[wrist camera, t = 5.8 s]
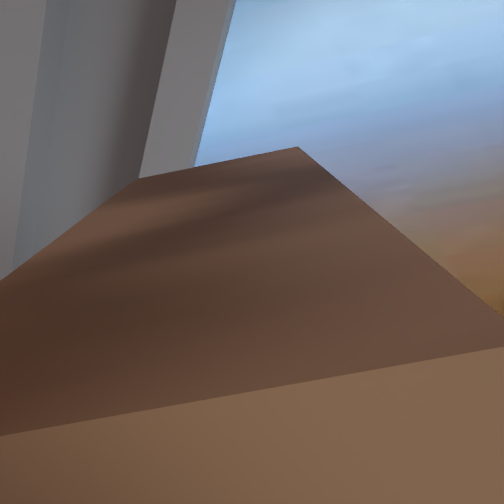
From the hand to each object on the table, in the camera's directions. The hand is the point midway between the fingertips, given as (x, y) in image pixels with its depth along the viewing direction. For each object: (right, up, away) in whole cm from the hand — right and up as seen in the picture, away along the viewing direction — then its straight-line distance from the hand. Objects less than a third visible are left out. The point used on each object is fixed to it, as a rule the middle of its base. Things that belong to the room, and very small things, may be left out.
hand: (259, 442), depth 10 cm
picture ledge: (-8, +11, +15) cm, 20 cm away
